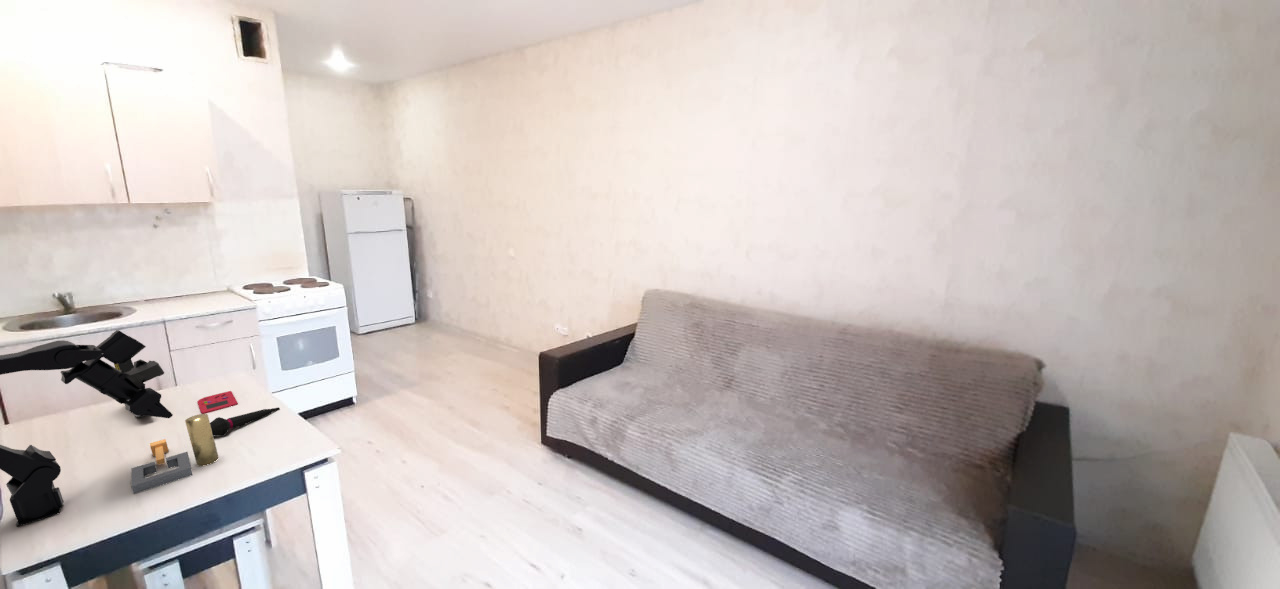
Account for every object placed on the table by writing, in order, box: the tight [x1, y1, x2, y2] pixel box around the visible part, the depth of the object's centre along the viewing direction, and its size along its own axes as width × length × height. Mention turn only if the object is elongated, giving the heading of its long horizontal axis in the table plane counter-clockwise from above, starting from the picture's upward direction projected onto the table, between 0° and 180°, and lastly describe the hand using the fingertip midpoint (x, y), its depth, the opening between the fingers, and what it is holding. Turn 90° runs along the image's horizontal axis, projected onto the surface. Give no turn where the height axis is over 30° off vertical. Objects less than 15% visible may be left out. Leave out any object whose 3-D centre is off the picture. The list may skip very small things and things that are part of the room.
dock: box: [130, 451, 193, 495], centre depth 130 cm, size 11×11×2 cm
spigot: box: [184, 413, 220, 467], centre depth 135 cm, size 5×5×13 cm
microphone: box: [209, 407, 281, 437], centre depth 157 cm, size 6×6×20 cm
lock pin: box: [149, 438, 169, 466], centre depth 137 cm, size 3×11×3 cm, turn 44°
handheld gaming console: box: [197, 390, 239, 414], centre depth 172 cm, size 10×1×15 cm
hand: (165, 412), depth 133 cm, fingers open, 9 cm apart
